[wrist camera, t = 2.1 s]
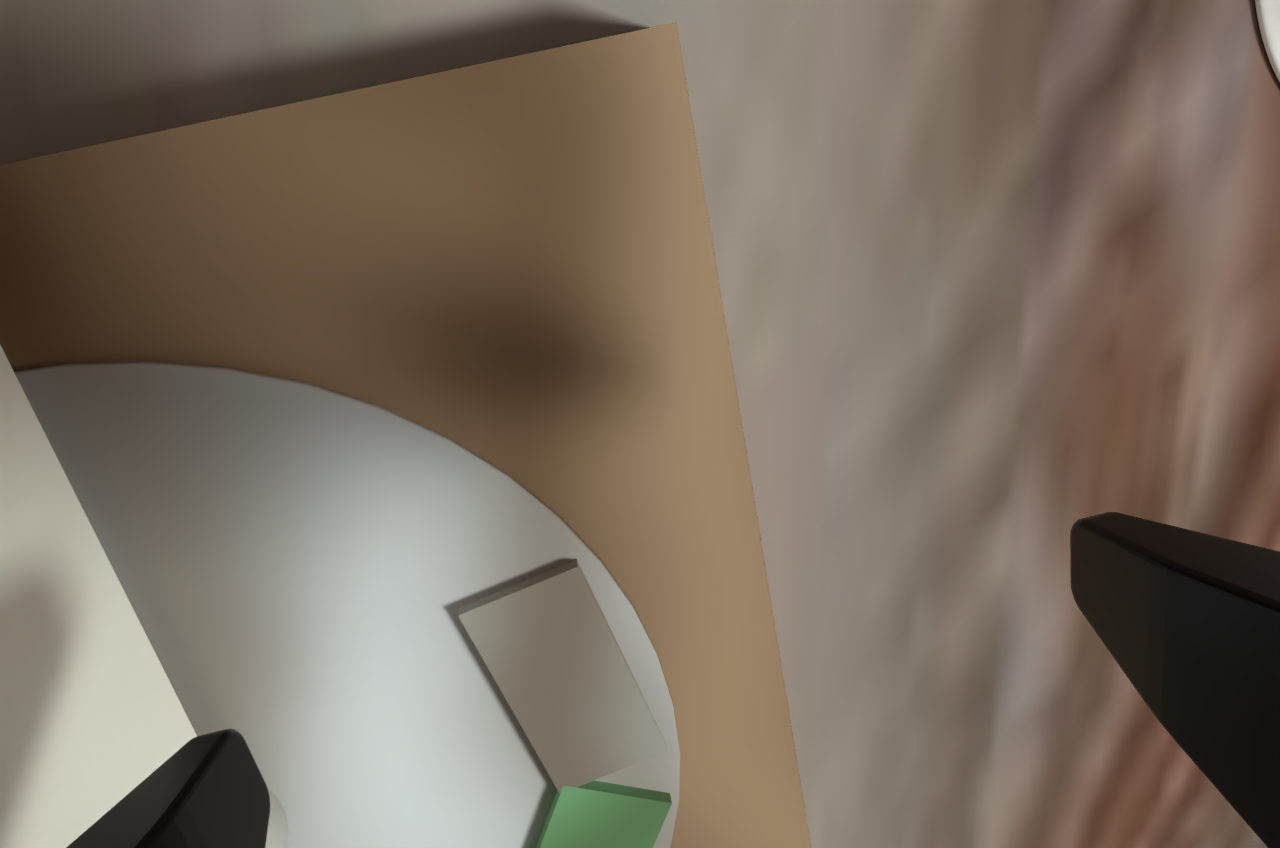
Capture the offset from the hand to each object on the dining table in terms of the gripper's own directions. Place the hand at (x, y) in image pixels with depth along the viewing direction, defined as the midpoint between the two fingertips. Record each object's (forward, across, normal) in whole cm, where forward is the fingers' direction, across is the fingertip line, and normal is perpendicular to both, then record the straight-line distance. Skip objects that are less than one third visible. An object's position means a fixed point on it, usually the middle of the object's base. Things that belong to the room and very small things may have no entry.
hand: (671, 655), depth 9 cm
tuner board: (+6, +8, +4) cm, 11 cm away
